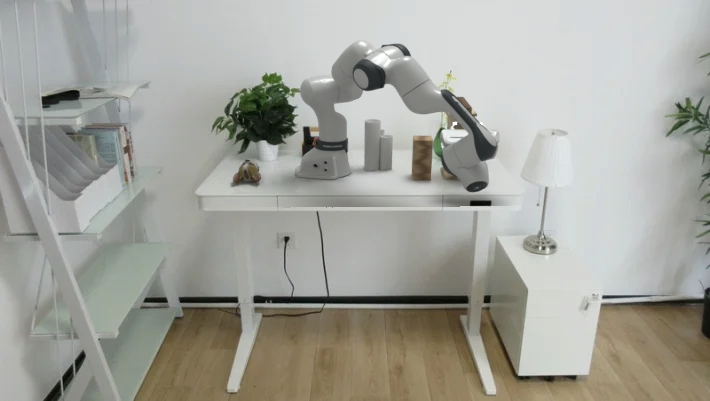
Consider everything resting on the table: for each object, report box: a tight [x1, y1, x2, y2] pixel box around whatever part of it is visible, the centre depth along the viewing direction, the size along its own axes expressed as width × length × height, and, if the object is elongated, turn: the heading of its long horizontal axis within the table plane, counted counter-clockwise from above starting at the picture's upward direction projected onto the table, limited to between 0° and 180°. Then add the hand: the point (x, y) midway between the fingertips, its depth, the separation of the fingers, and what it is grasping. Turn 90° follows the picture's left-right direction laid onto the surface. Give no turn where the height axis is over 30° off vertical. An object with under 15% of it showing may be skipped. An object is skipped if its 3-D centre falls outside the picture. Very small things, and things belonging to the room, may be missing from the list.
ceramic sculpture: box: [232, 156, 262, 184], centre depth 213 cm, size 11×9×15 cm
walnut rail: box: [456, 96, 473, 113], centre depth 207 cm, size 4×20×4 cm, turn 178°
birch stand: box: [439, 107, 478, 180], centre depth 215 cm, size 11×10×26 cm
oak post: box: [411, 135, 434, 181], centre depth 214 cm, size 7×7×16 cm
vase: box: [363, 118, 394, 172], centre depth 224 cm, size 11×7×20 cm, turn 97°
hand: (467, 123), depth 197 cm, fingers open, 8 cm apart
